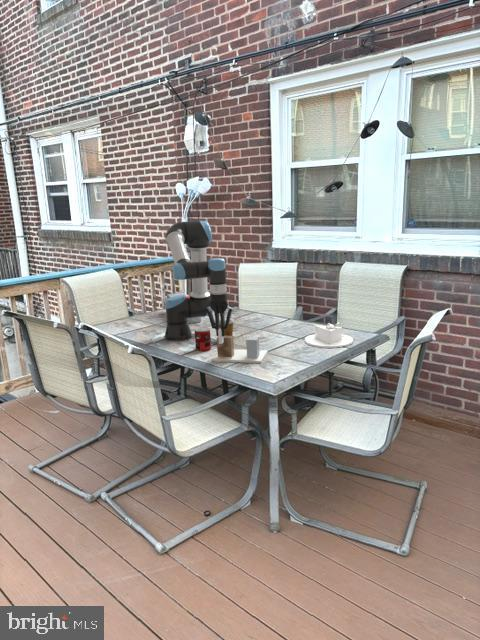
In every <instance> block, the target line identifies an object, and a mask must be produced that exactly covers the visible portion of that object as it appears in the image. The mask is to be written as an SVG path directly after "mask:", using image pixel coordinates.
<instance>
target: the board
mask: <svg viewBox="0 0 480 640" xmlns="http://www.w3.org/2000/svg"><path fill="white" fill-rule="evenodd" d="M259 352H260V355H259V357H258V358H247V349H238V348H237V349H236V348H234V357H233V358H218V352H217V353H216V354H215V355H213V357H211V361H212V362H226V363H227V362H228V363H229V362H230V363H250V364H262V362H263V361H264V359H265V358H266V356H267V355H268V353H269V350H268V349H267V350H263V349H259Z"/></svg>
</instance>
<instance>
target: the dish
mask: <svg viewBox="0 0 480 640" xmlns="http://www.w3.org/2000/svg"><path fill="white" fill-rule="evenodd" d="M339 324H340V321H338V322H337V323H334V324H332V323H330V322H328V323H327V325H317V324H314V334H310V335H307V336H305V338H304V343H305V344H306V345H308V346H311V347H315V348H321V349H338V348H337V347H340V348H344V347H343V346H345V347H348V346H351V345H352V344H353V343H354V338H353V337H352V336H350V335H347V334H343V327H342V326H337V325H339ZM352 342H353V343H352ZM350 344H351V345H350Z"/></svg>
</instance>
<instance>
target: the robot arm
mask: <svg viewBox="0 0 480 640" xmlns="http://www.w3.org/2000/svg"><path fill="white" fill-rule="evenodd" d="M164 239H165V242H166V245H167V247H168V248H169V249H170V253H171V256H172V259H173V264H172V277H173V279H174V280H176V281H179V280H180V281H184V280H191V290H192V291H191V292H190V293H189V296H190V297H189V298H186V296H185V295H181V296H180V295H179V296H174V297H171V298H168V299H167V298H166V300H165V307H164V309H165V311H166V312H165V314H166V315H165V316H166V327H165V332H164V339H165V340H166V339H167V340H166V341H170V340H174V341H173V342H176V341H175V340H180V341H185V339H186V340H188V339H191V338H192V336H193V333H192V330H191V328H190V324H188V318H196V317H201V318H205V317H208V318H209V319H208V320H209V323H210V325H211V329H215V332H216V333H215V334H216V337H218V338H219V344H222V343H223V342H224V340H223V337H224V336H225V329H227V328H228V327H229V323H230V317H232V313H233V311H234V308H233V307H230V306H229V303H228V294H227V291H228V289H227V273H226V271H227V270H226V266H227V265H226V260H225V259H224V258H222V257H214V258H213V257H212V258H210V259H208V260H207V249H209V247H210V244H211V243H212V242H213V235H212V229H211V226H210V223H209V221H207V220H191V221H179V222H176V223H174V224H171V226H169V227H168V229H167V231H166V233H165V237H164ZM186 245H187V246H186ZM186 247H187V248H188V249H189V250H190V255H189V253H188V249H187V248H186ZM208 281H209V290H208ZM226 312H227V313H226ZM213 313H214V315H213ZM225 313H226V314H227V315H226V316H225ZM225 317H227V318H226V324H225ZM219 318H220V319H221V329H219V328H220V323H219Z"/></svg>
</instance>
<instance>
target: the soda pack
mask: <svg viewBox="0 0 480 640" xmlns="http://www.w3.org/2000/svg"><path fill="white" fill-rule="evenodd" d="M179 295H180V296H181V295H185V296H186V298H189V297H190V294H187V293H185V292H183V291H182V292H176V293H167V294H166V300H167V299H168V298H171V297H174V296H179ZM200 322H201V323H202V317H196V318H188V325H192V324H191V323H194V324H200Z"/></svg>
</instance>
